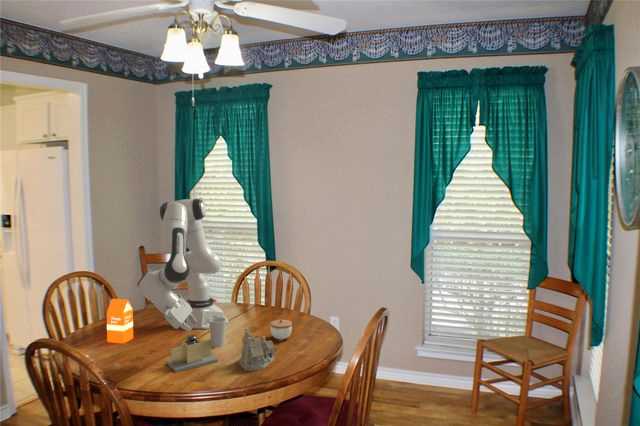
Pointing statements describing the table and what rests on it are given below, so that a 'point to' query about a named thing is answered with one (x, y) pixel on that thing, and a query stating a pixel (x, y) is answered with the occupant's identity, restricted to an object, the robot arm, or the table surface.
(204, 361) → the board
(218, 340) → the cup
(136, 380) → the table surface
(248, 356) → the ceramic cottage
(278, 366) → the table surface
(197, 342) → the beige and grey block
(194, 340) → the hinge pin
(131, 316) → the orange juice
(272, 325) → the lidded jar
